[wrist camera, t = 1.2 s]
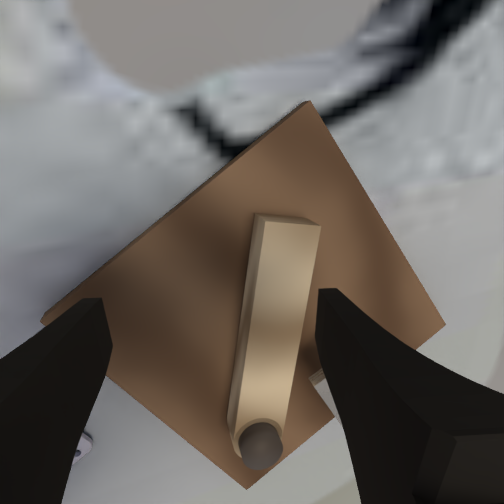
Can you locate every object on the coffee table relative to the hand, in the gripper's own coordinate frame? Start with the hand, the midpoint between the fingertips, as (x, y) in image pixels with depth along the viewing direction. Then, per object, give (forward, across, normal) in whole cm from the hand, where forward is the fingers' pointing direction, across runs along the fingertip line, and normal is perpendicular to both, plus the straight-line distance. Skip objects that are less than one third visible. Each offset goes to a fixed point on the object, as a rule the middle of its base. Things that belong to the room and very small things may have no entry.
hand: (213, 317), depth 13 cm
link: (+7, -2, +7) cm, 10 cm away
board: (+9, -3, +7) cm, 11 cm away
